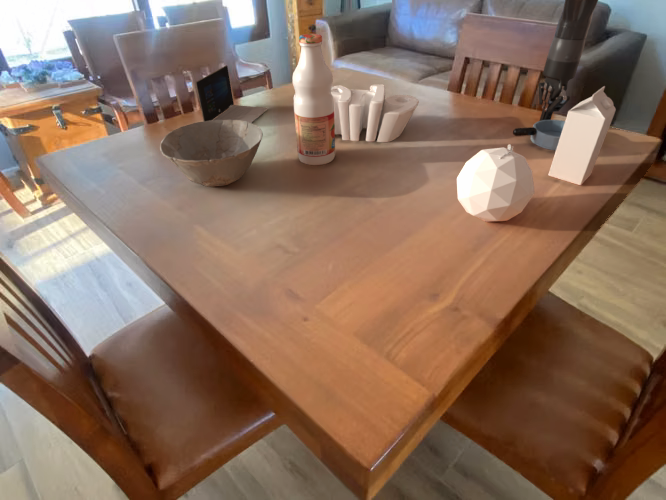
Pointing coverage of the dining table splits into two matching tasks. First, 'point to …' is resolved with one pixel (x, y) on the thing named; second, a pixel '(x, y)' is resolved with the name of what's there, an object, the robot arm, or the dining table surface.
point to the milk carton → (582, 138)
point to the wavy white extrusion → (371, 113)
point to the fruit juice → (313, 104)
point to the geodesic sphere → (495, 184)
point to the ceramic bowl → (213, 150)
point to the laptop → (222, 99)
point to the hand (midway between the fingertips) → (543, 123)
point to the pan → (543, 133)
